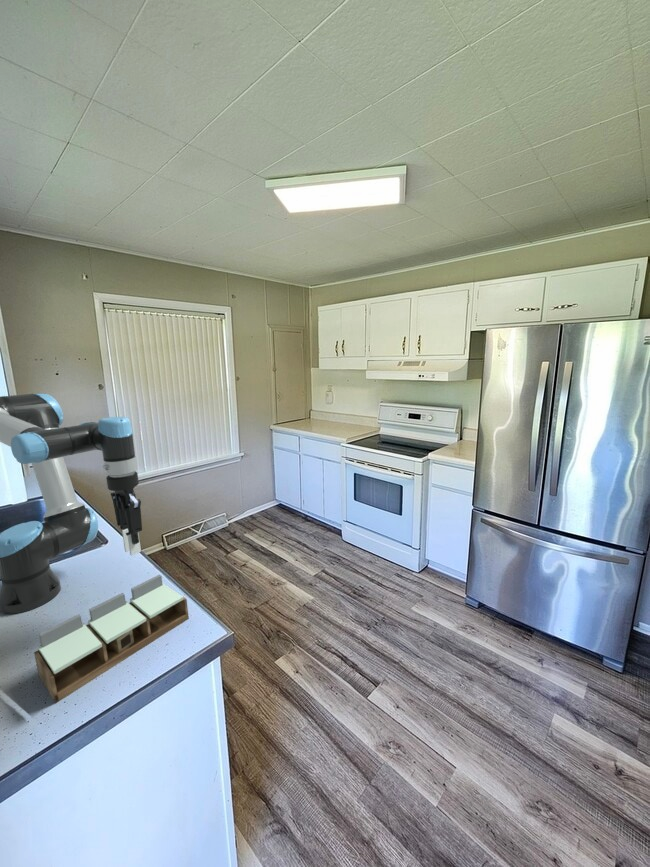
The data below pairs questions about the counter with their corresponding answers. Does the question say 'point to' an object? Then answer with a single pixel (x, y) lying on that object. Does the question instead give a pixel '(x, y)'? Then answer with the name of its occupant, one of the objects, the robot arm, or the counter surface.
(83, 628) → the lid
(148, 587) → the lid
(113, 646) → the letter cube
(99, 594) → the counter surface
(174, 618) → the box
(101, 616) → the lid
